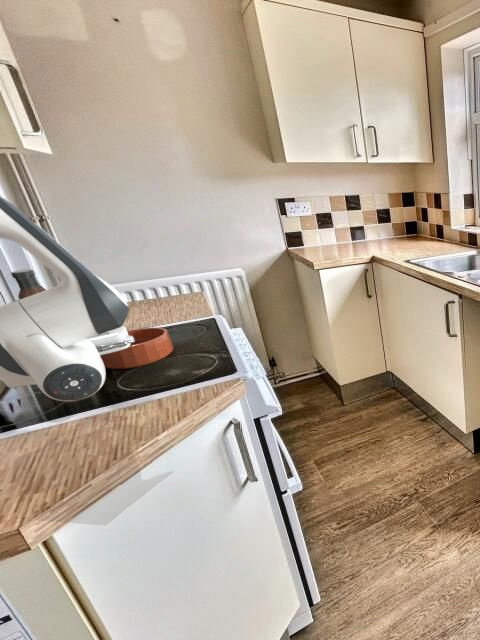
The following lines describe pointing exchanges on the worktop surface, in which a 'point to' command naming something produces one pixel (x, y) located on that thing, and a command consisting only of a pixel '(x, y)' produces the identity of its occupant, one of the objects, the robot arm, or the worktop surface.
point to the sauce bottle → (27, 283)
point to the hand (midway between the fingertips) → (61, 339)
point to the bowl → (140, 349)
